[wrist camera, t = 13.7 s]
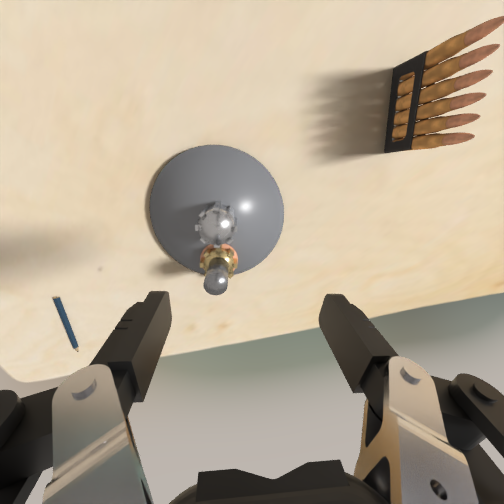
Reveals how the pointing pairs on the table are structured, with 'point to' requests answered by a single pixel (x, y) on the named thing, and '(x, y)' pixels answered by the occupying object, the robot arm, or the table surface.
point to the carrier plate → (216, 206)
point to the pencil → (65, 322)
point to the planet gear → (217, 269)
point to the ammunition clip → (436, 92)
